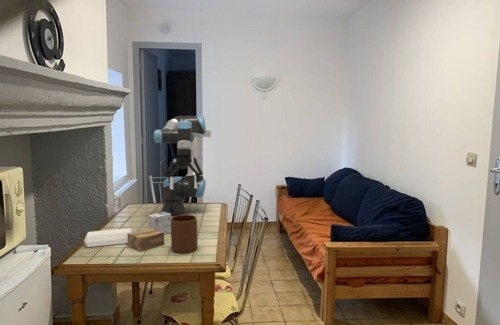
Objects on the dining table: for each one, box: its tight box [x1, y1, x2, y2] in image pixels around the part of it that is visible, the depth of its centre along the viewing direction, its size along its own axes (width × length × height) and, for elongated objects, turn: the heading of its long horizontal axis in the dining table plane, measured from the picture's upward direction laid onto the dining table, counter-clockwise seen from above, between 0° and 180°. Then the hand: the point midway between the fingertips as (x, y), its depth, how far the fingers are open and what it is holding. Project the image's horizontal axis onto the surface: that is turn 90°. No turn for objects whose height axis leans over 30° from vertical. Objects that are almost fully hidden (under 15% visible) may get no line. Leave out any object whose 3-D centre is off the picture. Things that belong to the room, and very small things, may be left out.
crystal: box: [83, 227, 133, 248], centre depth 192 cm, size 7×7×24 cm
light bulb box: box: [147, 211, 172, 235], centre depth 207 cm, size 11×7×11 cm, turn 134°
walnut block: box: [127, 227, 165, 252], centre depth 189 cm, size 12×13×6 cm
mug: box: [170, 212, 198, 254], centre depth 187 cm, size 20×12×15 cm, turn 3°
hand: (183, 188), depth 201 cm, fingers open, 13 cm apart
